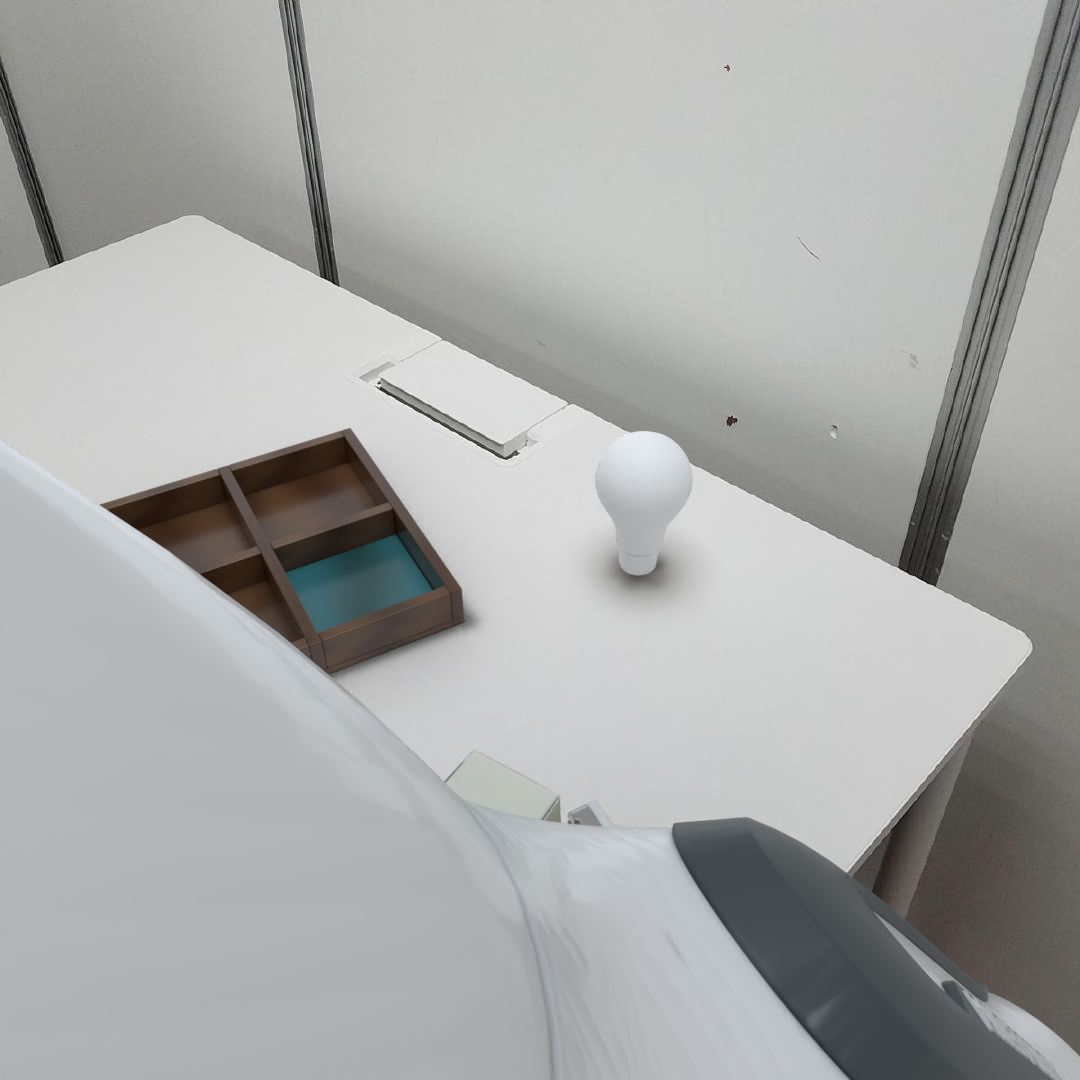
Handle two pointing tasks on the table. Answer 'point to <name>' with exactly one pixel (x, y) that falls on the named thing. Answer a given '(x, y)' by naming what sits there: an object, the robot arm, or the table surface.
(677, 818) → the table surface
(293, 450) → the grid
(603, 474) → the lightbulb
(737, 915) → the robot arm
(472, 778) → the box
